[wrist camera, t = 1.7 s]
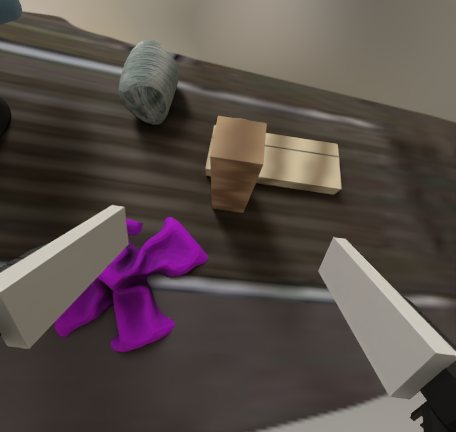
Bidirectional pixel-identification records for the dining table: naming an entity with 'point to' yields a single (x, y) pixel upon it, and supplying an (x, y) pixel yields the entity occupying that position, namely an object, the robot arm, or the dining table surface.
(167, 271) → the cloth
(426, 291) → the dining table surface
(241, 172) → the tan angular block
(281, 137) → the board
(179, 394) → the dining table surface
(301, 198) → the dining table surface
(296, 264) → the dining table surface
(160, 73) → the spool
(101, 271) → the robot arm
